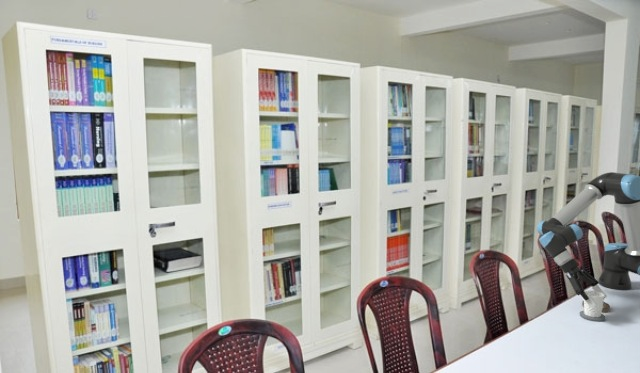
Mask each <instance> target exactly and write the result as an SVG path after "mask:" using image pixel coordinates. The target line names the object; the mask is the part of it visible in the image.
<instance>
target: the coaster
mask: <svg viewBox="0 0 640 373" xmlns="http://www.w3.org/2000/svg"><path fill="white" fill-rule="evenodd" d="M579 316H580V317H581V318H582V319H584V320H588V321H590V322H605V321H606V315H605V314H603V313H601V317H590V316H587V315H585V314H584V310H582V311H580V312H579Z"/></svg>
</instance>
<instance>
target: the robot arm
mask: <svg viewBox="0 0 640 373" xmlns="http://www.w3.org/2000/svg"><path fill="white" fill-rule="evenodd" d="M606 196H613V197H614V202H615V204H617V205H619V210H620V214H621V220H622V225H623V230H624V236H625V240H626V243H625V242H624V243H622V242H621V243H620V242H612V243H611V242H610V243H607V244H605V247H604V255H603V269H602V271H601V272H600V276H599V278H598V280H597V279H596V278H595V277H594V276H592V275H591V274H590V273H588V271H586V270H585V269H584V268H583V266H580V267H578V266H579V265H580V263H579V262H578V261H577V260H576V258H573V257H574V255H573V254H571V253H570V251H569V250H568V248H567V247H569V246H570V245H572V244H574V243H576V242H578V241H579V240H580V239H582V238H583V236H584V235H583V234H584V233H583V230H582V228H581V227H580V226H578V225H577V224H573V223H572V224H570V223H571V222H573V221H574V220H575V219H576V218H577V217H579V215H581V213H583V212H584V211H585V210H586V209H587V208H589V207H590V206H591V205H592V204H593V203H594V202H595V201H596V200H600V199H602V198H604V197H606ZM569 224H570V225H569ZM536 231H537V233H538V234H539V235H541V236H540V238H539V239H538V240H539V241H538V242H539V243H540V244H541V246H542V248H544V250H545V251H547V253H548V254H549V256H550V257H551V258H552V259H553V260H554V263H556V264H557V265H558V266H559V267H560V269H561V270H562V271H563V273H564V274H566V275H565V276H566V277H567V279H568V281H569V283H570V285H571V287H572V289H573V290H574V292H575V294H576V295H577V296H580V297H581V298H582V299H583V301H584V300H585V301H586V302H587V303H588V305H589V306H590V307H593V306H594V305H596V303H595V302H594V301H593V299H592V298H591V297H590V296H589V294H588V293H587V292H585V291H586V290H585V289H584V287H583V283H582V281H583V282H584V283H587V285H590V286H591V289H592V291H597V292H600V293H603V294H604V300H605V299H607V298H608V295H607V294H606V293H605V292H604V291H603V289H602V288H601V286H602V287H605V288H607V289H613V290H622V291H624V290H625V291H627V290H630V289H632V281H631V278H630V274H629V272H631V273H633V274H636V275H638V276H640V176H639V175H636V174H632V173H628V174H627V173H619V172H612V171H611V172H606V173H602V174H600V175H598V176H596V177H595V178H593V179H592V180H590V181H589V182H588V183H587V184H585V185H584V189H583V190H581V191H580V192H579V193H578V194H577V195H576V196H575V197H573V199H571V200H570V201H569V202H568V203H567V204H565V205H564V206H562V208H561V209H560V210H559V211H558V212H556V213H555V214H554V215H553V216H552V217H550V218H549V219H548V220H541V221H540V222H538V224H537V227H536ZM599 285H600V286H599Z"/></svg>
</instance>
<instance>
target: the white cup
mask: <svg viewBox="0 0 640 373" xmlns="http://www.w3.org/2000/svg"><path fill="white" fill-rule="evenodd" d="M584 291H585V292H587V293H588V294H589V296H590V297H591V298H592V299H593V301H594V302H595V303H596V305H594V306H593V307H590V306H589V305H588V303H587V302H586V301H585V300H584V299H583V301H584V307H583V311H584V314H585V315H587V316H590V317H601V314H603V312H602V308H603V302H605V299H604V294H603V293H600V292H597V291H594V290H584Z"/></svg>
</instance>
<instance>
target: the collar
mask: <svg viewBox="0 0 640 373" xmlns="http://www.w3.org/2000/svg"><path fill="white" fill-rule="evenodd" d="M581 303H582V304H581V306H582V307H583V308H584V300H582V302H581ZM610 311H611V306H610V304H609V303H607V302H605V301H604V302H603V308H602V313H609V312H610Z"/></svg>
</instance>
